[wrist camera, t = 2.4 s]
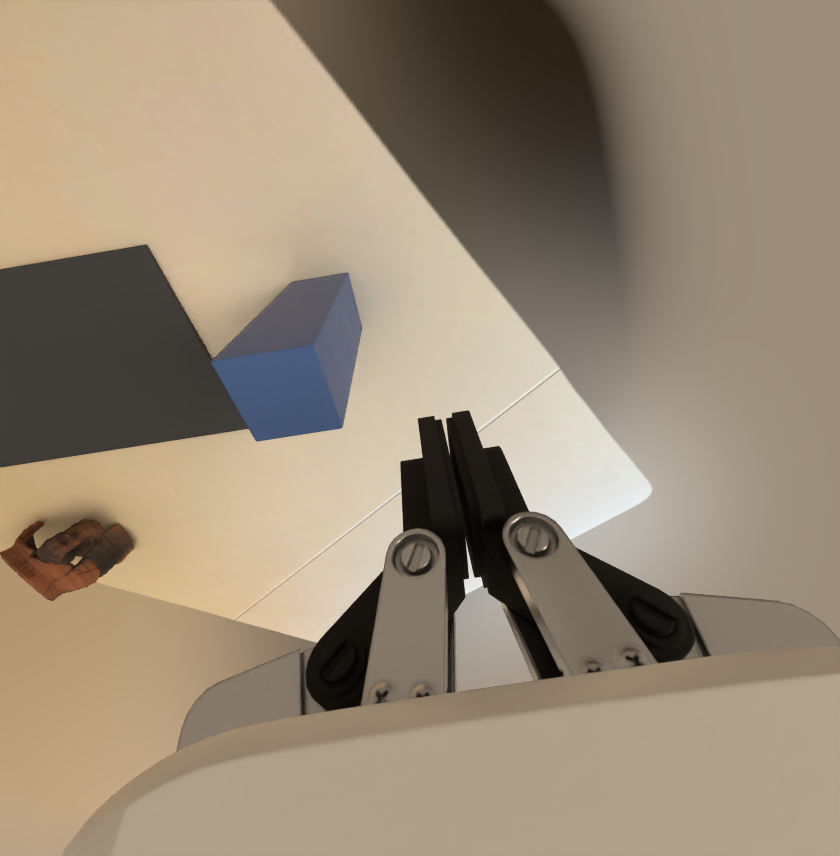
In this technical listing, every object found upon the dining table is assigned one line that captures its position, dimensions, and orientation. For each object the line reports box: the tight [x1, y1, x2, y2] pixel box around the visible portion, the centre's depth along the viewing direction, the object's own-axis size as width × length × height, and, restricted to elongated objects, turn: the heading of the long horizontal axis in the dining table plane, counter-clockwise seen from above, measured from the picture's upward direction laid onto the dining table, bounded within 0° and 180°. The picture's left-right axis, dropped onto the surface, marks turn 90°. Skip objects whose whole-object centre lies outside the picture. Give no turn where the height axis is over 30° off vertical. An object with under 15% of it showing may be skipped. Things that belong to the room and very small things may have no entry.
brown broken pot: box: [0, 519, 134, 601], centre depth 37 cm, size 12×9×8 cm
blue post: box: [211, 273, 362, 441], centre depth 20 cm, size 4×4×14 cm
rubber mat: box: [0, 245, 249, 467], centre depth 27 cm, size 16×30×1 cm, turn 98°
